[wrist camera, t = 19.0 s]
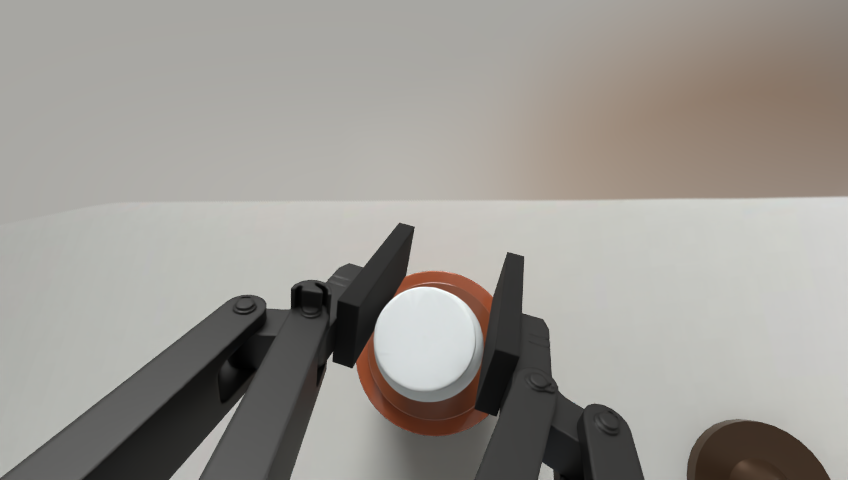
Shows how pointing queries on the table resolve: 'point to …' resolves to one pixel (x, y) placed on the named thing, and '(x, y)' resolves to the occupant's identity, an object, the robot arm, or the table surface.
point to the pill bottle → (428, 344)
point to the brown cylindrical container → (429, 415)
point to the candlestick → (751, 454)
